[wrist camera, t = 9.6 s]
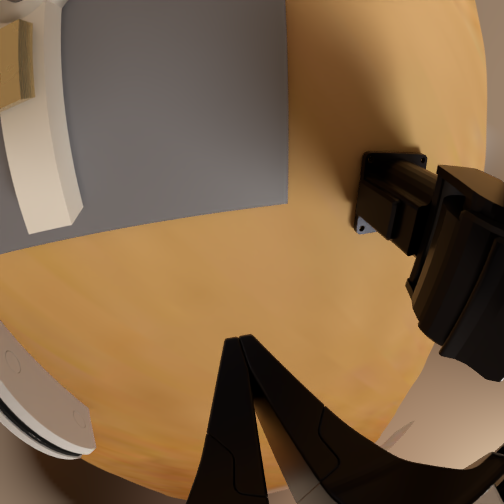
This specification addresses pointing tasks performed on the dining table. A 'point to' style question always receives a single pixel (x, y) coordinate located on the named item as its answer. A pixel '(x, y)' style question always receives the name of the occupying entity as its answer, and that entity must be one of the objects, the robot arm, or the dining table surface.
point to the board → (167, 113)
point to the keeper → (16, 64)
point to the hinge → (40, 405)
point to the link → (41, 125)
